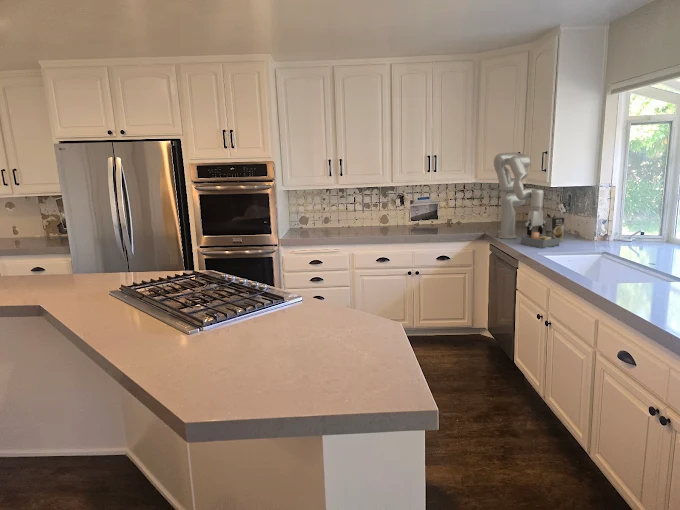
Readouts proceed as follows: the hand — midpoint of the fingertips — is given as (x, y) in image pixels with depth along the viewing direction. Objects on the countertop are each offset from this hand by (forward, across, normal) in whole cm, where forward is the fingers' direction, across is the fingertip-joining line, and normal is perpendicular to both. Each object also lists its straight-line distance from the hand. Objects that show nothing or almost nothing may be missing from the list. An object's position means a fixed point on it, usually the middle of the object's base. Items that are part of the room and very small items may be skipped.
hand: (534, 234), depth 296 cm
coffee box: (+6, -18, +1) cm, 19 cm away
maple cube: (+5, 0, +9) cm, 10 cm away
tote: (+6, 0, +5) cm, 8 cm away
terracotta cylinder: (+5, 0, +1) cm, 5 cm away
